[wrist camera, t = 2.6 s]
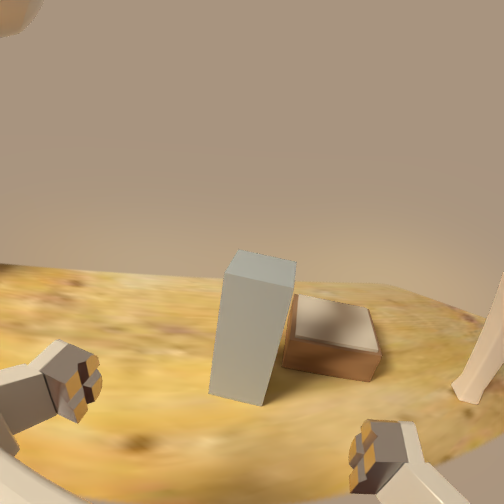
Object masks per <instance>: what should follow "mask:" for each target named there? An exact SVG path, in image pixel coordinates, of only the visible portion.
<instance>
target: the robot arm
mask: <svg viewBox="0 0 504 504" xmlns="http://www.w3.org/2000/svg"><path fill="white" fill-rule="evenodd" d="M43 1H44V0H0V38H3V37H7V36H11V35H16V34H19V33H20V32H22V31H23V30H24V29H25V28H26V27H27V26H28V25H29V24H30V23H31V22H32V20H33V19H34V18H35V17H36V15H37V14H38V12H39V10H40V9H41V6H42V4H43ZM99 365H100V364H99V360H98V357H97V356H96V355H94V354H92V353H89V352H87V351H85V350H83V349H80V348H78V347H76V346H74V345H71V344H69V343H66V342H64V341H62V340H60V339H58V340H55V341H53V342H52V343H51V344H50V345H49V346H48V347H47V348H46V349H45V350H44V351H42V352H41V353H40V354H39V355H38V356H37V357H36V358H35V359H34V360H33V361H32V362H31V363H30V364H28V365H26V364H21V365H17V366H13V367H10V368H6V369H2V370H0V504H93V503H91V502H89V501H87V500H85V499H83V498H81V497H79V496H77V495H75V494H73V493H71V492H69V491H68V490H66V489H64V488H62V487H60V486H59V485H57V484H55V483H54V482H52V481H50V480H49V479H47V478H45V477H44V476H42V475H40V474H39V473H37V472H36V471H34V470H33V469H31V468H30V467H28V466H27V465H25V464H24V463H22V462H21V461H19V460H18V459H16V458H15V457H14V456H15V455H16V454H17V452H18V451H19V450H20V448H19V445H18V443H17V441H16V440H15V438H14V436H13V435H14V434H16V433H19V432H21V431H23V430H25V429H28V428H30V427H32V426H34V425H36V424H39V423H41V422H43V421H45V420H47V419H49V418H52V417H54V416H56V415H57V414H59V415H61V416H63V417H65V418H67V419H69V420H71V421H73V422H75V423H77V424H78V423H79V422H80V420H81V419H82V418H83V416H84V415H85V414H86V412H87V411H88V406H87V404H89V403H92V402H94V401H95V400H96V399H97V397H98V396H99V394H100V391H101V389H102V376H101V374H100V373H99V371H98V370H97V367H98V366H99ZM56 413H57V414H56ZM349 465H350V466H351V467H352V468H353V471H352V473H351V474H350V475H349V483H350V493H355V494H376V497H377V499H378V500H379V502H380V503H381V504H471V503H470V502H469V501H468V500H467V499H466V498H465V497H464V496H463V495H462V494H461V493H460V492H458V490H456V489H455V488H454V487H453V486H452V485H451V484H450V483H449V482H448V481H447V480H446V479H445V478H444V477H443V476H442V475H441V474H440V473H439V472H438V471H437V470H436V469H435V468H434V467H433V466H432V465H431V464H430V463H425V461H424V457H423V453H422V449H421V445H420V441H419V437H418V433H417V429H416V426H415V424H414V423H413V422H407V421H388V420H373V419H367V420H366V421H364V423H363V424H362V426H361V433H360V434H358V435H357V436H355V438H354V440H353V441H352V443H351V447H350V450H349Z"/></svg>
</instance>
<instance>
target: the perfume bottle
mask: <svg viewBox="0 0 504 504" xmlns="http://www.w3.org/2000/svg"><path fill="white" fill-rule="evenodd" d="M503 363H504V272H503V274H502V277H501V280H500V283H499V286H498V289H497V292H496V295H495V298H494V301H493V303H492V306H491V308H490V311H489V314H488V316H487V319H486V321H485V324H484V326H483V329H482V331H481V333H480V336H479V338H478V340H477V342H476V345H475V347H474V349H473V351H472V353H471V355H470V358H469V360H468V362H467V364H466V366H465V368H464V370H463V372H462V374H461V375H460V376H459V377H458V378H457V379H456V380H455V381H454V382H453V383H452V384H451V386H452V388H453V390H454V392H455V394H456V396H457V398H458V399H459V400H460V401H464V402H468V403H472V404H477V405H478V404H479V401H480V399H481V397H482V394H483V392H484V389H485V388H486V387H487V385H488V384H489V383H490V381H491V380H492V379H493V377H494V376H495V375H496V373H497V372H498V370H499V369H500V367H501V366H502V365H503Z"/></svg>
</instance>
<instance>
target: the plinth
mask: <svg viewBox="0 0 504 504" xmlns="http://www.w3.org/2000/svg"><path fill="white" fill-rule="evenodd" d="M381 358H382V353H381V350H380V346H379V342H378V339H377V335H376V332H375V328H374V325H373V321H372V318H371V315H370V311H369V309H367V308H364V307H359V306H354V305H349V304H344V303H339V302H335V301H330V300H325V299H320V298H315V297H310V296H306V295H301V294H299V295H297V294H294V298H293V302H292V306H291V310H290V314H289V317H288V324H287V332H286V339H285V346H284V354H283V361H282V367H285V368H290V369H295V370H300V371H305V372H310V373H316V374H321V375H327V376H333V377H339V378H346V379H352V380H359V381H366V382H370V380H371V378H372V376H373V374H374V372H375V370H376V368H377V366H378V364H379V362H380V360H381Z"/></svg>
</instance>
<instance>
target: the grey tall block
mask: <svg viewBox="0 0 504 504" xmlns="http://www.w3.org/2000/svg"><path fill="white" fill-rule="evenodd" d="M295 272H296V262H295V261H290V260H285V259H281V258H276V257H271V256H266V255H262V254H258V253H253V252H248V251H244V250H238V251H237V253H236V255H235V257H234V258H233V260H232V261H231V263H230V265H229V266H228V268H227V270H226V271H225V273H224V280H223V287H222V294H221V302H220V309H219V316H218V323H217V331H216V338H215V346H214V354H213V361H212V369H211V377H210V385H209V393H208V394H212V395H216V396H220V397H224V398H228V399H232V400H236V401H240V402H244V403H249V404H253V405H258V406H262V404H263V401H264V397H265V394H266V390H267V387H268V383H269V380H270V376H271V373H272V369H273V365H274V362H275V358H276V355H277V351H278V347H279V344H280V340H281V336H282V332H283V329H284V325H285V321H286V317H287V313H288V309H289V305H290V301H291V298H292V294H293V290H294V282H295Z"/></svg>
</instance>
